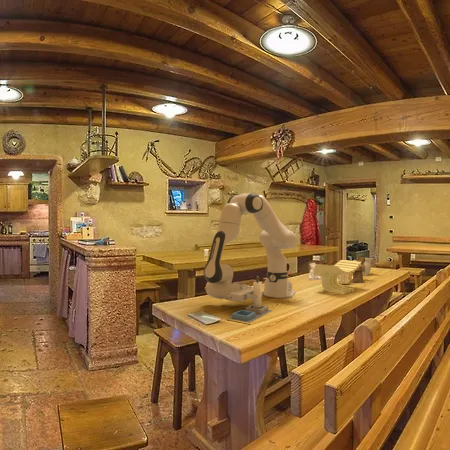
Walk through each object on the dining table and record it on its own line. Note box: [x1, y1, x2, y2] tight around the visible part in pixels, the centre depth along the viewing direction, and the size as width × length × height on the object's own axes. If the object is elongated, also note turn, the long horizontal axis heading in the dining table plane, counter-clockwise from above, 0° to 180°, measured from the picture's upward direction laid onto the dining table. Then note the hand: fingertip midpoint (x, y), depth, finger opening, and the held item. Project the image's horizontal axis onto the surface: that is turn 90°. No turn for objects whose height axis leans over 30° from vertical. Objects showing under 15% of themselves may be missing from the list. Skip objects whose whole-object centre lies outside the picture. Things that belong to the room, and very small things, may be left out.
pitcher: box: [352, 257, 375, 277], centre depth 295 cm, size 11×18×14 cm, turn 46°
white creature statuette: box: [308, 262, 322, 281], centre depth 274 cm, size 10×9×12 cm
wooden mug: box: [351, 255, 366, 284], centre depth 266 cm, size 9×14×18 cm, turn 139°
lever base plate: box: [225, 304, 274, 326], centre depth 175 cm, size 24×12×3 cm, turn 148°
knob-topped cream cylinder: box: [252, 275, 263, 309], centre depth 180 cm, size 4×4×17 cm
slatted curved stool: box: [314, 259, 361, 295], centre depth 234 cm, size 30×16×18 cm, turn 134°
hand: (258, 296), depth 180 cm, fingers open, 5 cm apart
